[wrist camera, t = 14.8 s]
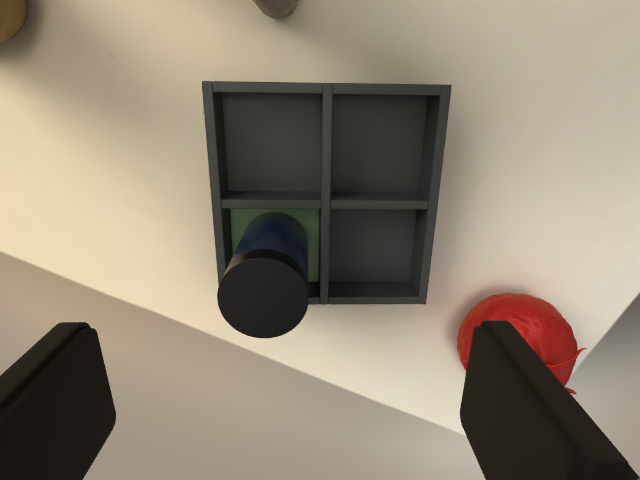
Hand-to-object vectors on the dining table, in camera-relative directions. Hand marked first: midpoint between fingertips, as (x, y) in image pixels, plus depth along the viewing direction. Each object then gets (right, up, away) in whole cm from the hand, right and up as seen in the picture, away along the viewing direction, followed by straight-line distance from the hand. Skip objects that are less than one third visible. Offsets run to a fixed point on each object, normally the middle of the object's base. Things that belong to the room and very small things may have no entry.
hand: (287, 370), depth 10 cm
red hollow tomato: (+18, -5, +28) cm, 34 cm away
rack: (+1, +7, +23) cm, 24 cm away
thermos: (-3, +3, +24) cm, 24 cm away
